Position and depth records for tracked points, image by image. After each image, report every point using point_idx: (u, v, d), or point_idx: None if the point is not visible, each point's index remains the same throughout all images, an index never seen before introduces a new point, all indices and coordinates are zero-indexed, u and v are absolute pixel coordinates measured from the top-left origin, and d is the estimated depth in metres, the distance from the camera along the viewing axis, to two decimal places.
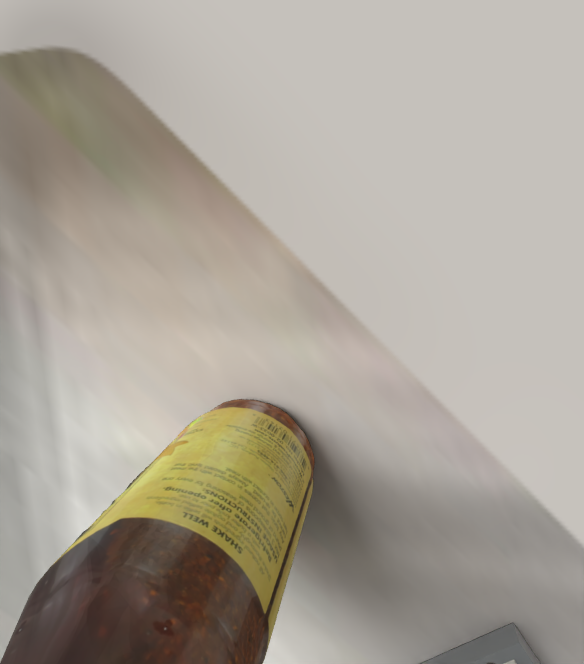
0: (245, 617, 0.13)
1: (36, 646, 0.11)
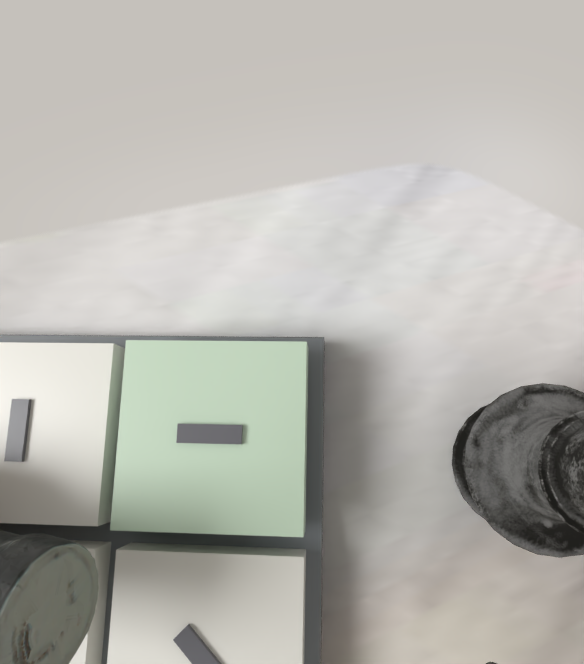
0: None
1: None
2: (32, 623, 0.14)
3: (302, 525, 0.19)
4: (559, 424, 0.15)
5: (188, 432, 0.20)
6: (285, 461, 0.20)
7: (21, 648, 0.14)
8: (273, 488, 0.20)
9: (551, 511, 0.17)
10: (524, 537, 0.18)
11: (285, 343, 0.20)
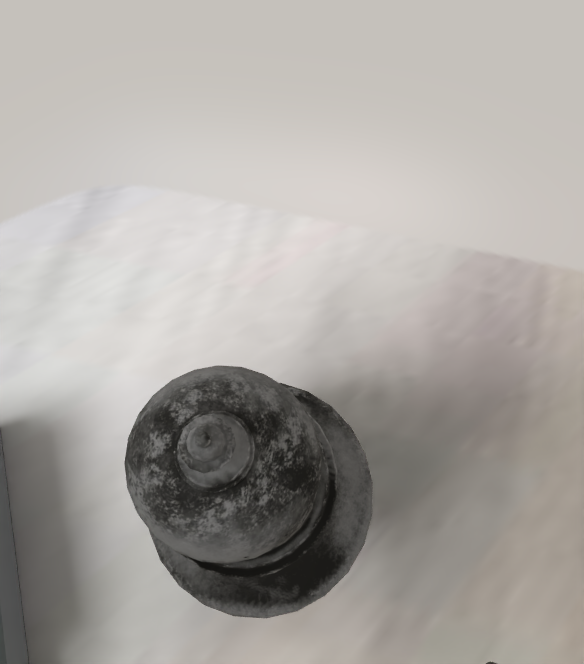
0: None
1: None
2: None
3: None
4: None
5: None
6: None
7: None
8: None
9: None
10: (241, 601, 0.13)
11: None
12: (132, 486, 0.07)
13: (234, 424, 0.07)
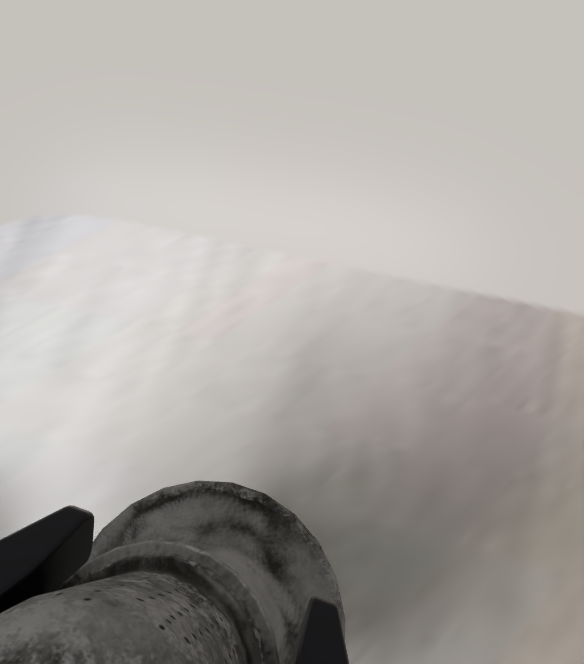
0: None
1: None
2: None
3: None
4: None
5: None
6: None
7: None
8: None
9: None
10: None
11: None
12: None
13: None
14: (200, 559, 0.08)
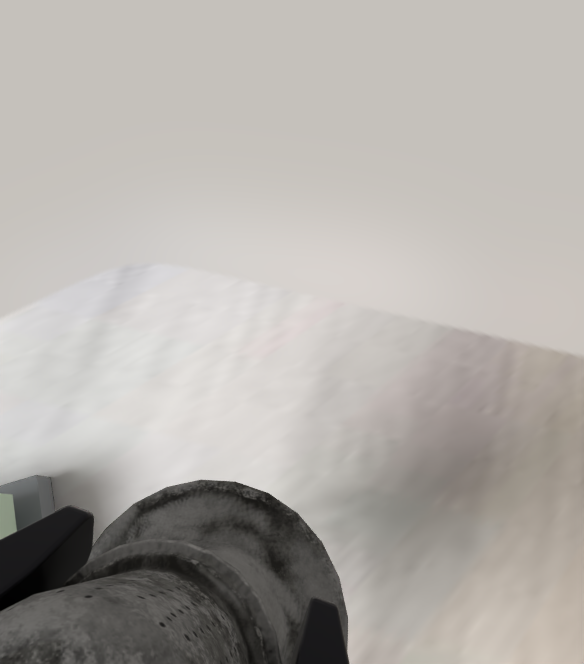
0: None
1: None
2: None
3: None
4: None
5: None
6: None
7: None
8: None
9: None
10: None
11: None
12: None
13: None
14: (202, 558, 0.08)
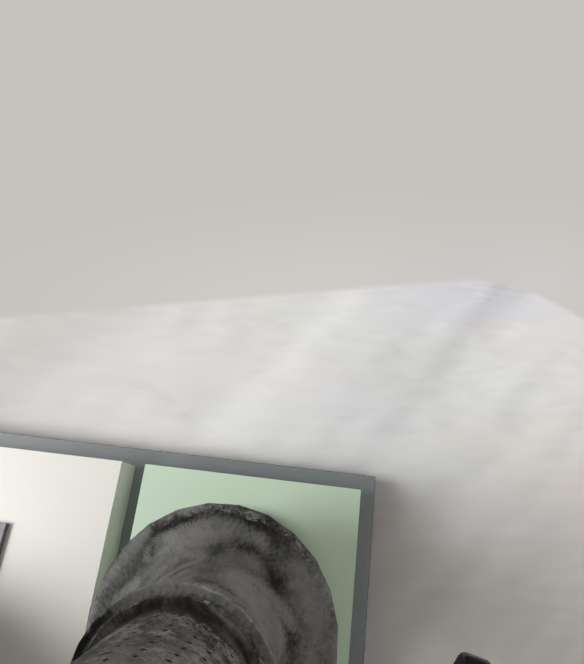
0: None
1: None
2: None
3: None
4: (86, 634, 0.09)
5: None
6: None
7: None
8: None
9: None
10: None
11: (335, 489, 0.17)
12: None
13: None
14: (213, 598, 0.09)
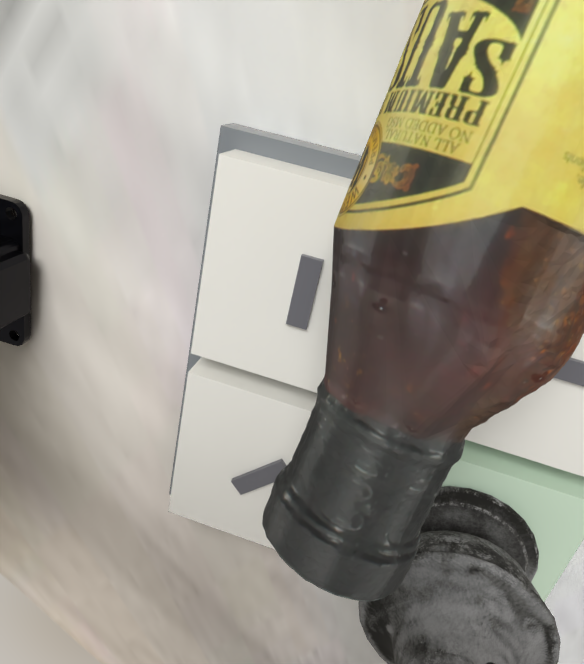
0: None
1: (411, 358, 0.11)
2: None
3: None
4: None
5: None
6: None
7: None
8: None
9: (400, 658, 0.15)
10: None
11: None
12: None
13: None
14: None
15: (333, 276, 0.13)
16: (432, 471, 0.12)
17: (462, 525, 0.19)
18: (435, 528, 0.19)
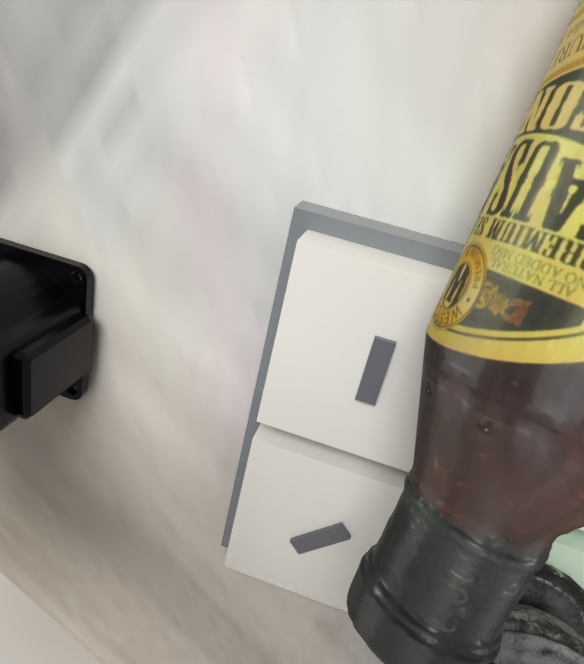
0: None
1: (515, 477, 0.12)
2: None
3: None
4: None
5: None
6: None
7: None
8: None
9: None
10: None
11: None
12: None
13: None
14: None
15: (428, 385, 0.13)
16: (524, 575, 0.13)
17: None
18: None
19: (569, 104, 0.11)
